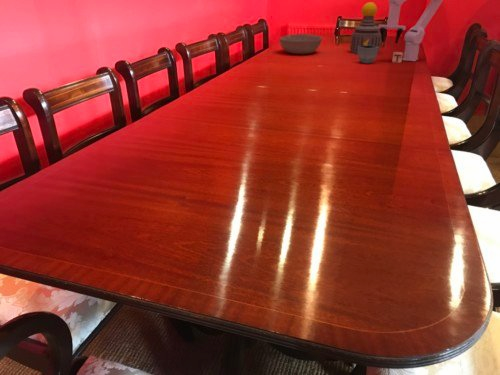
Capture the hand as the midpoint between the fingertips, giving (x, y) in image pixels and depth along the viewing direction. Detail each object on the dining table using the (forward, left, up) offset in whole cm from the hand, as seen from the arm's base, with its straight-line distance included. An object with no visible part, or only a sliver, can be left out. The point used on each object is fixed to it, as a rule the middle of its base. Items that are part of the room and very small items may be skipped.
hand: (389, 42), depth 226 cm
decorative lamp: (-23, -22, -11) cm, 34 cm away
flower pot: (+10, -9, -11) cm, 17 cm away
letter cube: (-2, +5, -11) cm, 12 cm away
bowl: (-1, -58, -11) cm, 59 cm away
